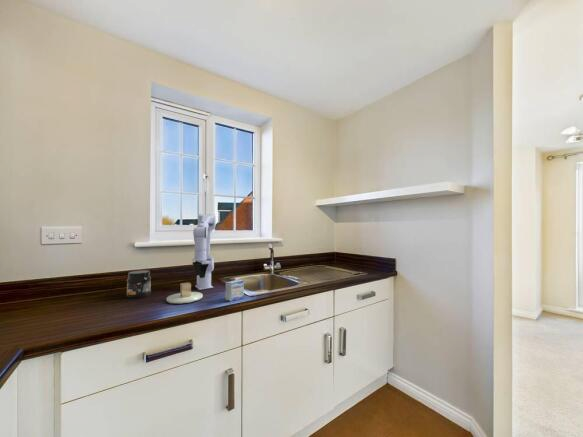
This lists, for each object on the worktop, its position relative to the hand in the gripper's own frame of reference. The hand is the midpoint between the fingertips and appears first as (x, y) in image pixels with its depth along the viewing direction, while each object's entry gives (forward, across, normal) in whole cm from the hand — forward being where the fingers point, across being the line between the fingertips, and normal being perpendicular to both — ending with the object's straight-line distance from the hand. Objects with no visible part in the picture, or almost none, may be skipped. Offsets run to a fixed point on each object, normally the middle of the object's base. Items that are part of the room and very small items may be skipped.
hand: (200, 276), depth 126 cm
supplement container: (+10, -17, -26) cm, 33 cm away
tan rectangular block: (+8, +4, -8) cm, 12 cm away
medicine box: (+10, +17, +12) cm, 23 cm away
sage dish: (+9, +4, -8) cm, 13 cm away
